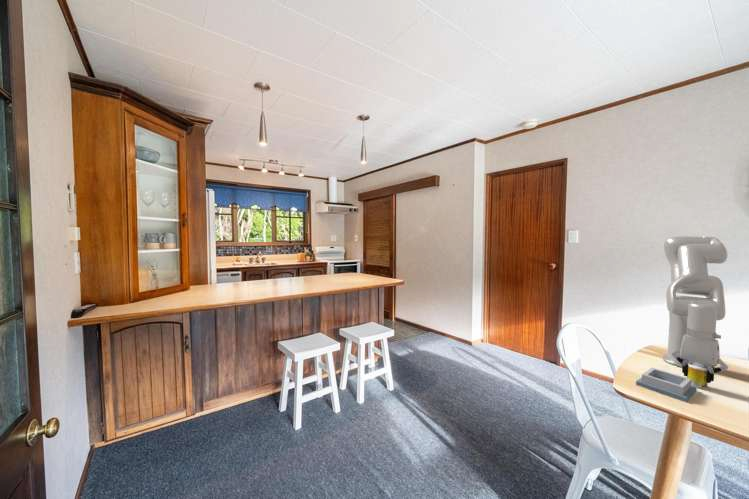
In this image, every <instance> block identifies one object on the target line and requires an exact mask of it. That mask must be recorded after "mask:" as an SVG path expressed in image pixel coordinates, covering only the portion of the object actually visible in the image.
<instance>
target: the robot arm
mask: <svg viewBox="0 0 749 499" xmlns="http://www.w3.org/2000/svg"><path fill="white" fill-rule="evenodd" d="M663 246H664V247H663V248H664V249H663V250H664V254H665V256H666V258H667V261H668V263H669V266H670V277H671V278H670V279H671V282H670V284H669V285H668V286H667V289H666V308H667V311H668V314H669V316H668V317H669V324H668V326H669V327H668V338H667V339H668V340H667V354H665V355H663V356H662V360H663V361H665V362H666V363H668V364H671V365H673V366H675V367H680V368H681V372H682V373H683V377H687V371H688V364H689V363H691V361H693V362H698V363H701V364H704V365H706V367H708V369H709V372H708V373H707V382H708V384H710V383H711V382H714V381H715V374H717V373H718V372H723V371H725V370H728V369H729V366H728V365H727V363H725V362H724V360H722V359H721V358H720V357H721V356H720V355H721V354H720V344H719V340H718V339H721V338H722V335H721V334H718V333H717V332H716V331H717V329H716V328H717V321H722V320H723V319H724V318H726V302H725V292H724V285H723V281H722V280H721V278H720V277H718V276H715V275H709V269H708V264H718V265H719V264H724V263H725V262H726V261H727V259H728V250H727V248H726V246H725V245H724V243H723V242H722V241H721V240H720V239H718V238H717V237H715V236H687V235H686V236H684V235H683V236H671V237H669V238H667V239H665V241H664V243H663ZM676 293H678V294H681V295H677V294H676ZM688 295H692V296H688ZM697 296H698V297H697ZM699 296H703V297H699ZM718 365H719V366H718ZM717 366H718V367H717Z"/></svg>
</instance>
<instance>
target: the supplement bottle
mask: <svg viewBox="0 0 749 499" xmlns="http://www.w3.org/2000/svg"><path fill="white" fill-rule="evenodd" d="M708 372H709V369H708V367H707V365H704V364H701V363H698V362H693V361H691V363H689V364H688V371H687V376H686V378H689V379H691V386H694V387H697V388H698V389H702V390H703V389H707V388H708V384H709V383H708V382H707V373H708Z"/></svg>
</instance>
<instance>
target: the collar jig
mask: <svg viewBox="0 0 749 499" xmlns="http://www.w3.org/2000/svg"><path fill="white" fill-rule="evenodd" d="M635 385H636V386H637V387H640V388H641V387H642V388H644V389H647V390H650V391H653V392H655V393H658V394H661V395H664V396H667V397H670V398H672V399H675V400H678V401H682V402H684V403H687V402H688V401H689V400H690V399H691V398H692V397H693V395H694V394H695V393H696V392H697V387H694V386H691V379H689V378H687V376H682V375H679V374H676V373H672V372H669V371H665V370H662V369H659V368H655V367H651V368H649V369H648V370H647V371H645V372H643V373H642V374H641V377H640V378H639V379H637V380H636V381H635Z"/></svg>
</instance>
